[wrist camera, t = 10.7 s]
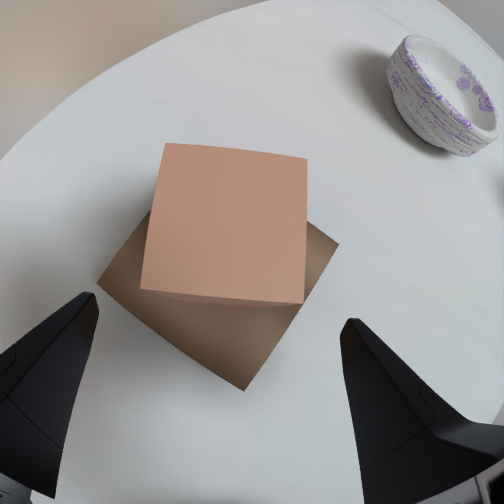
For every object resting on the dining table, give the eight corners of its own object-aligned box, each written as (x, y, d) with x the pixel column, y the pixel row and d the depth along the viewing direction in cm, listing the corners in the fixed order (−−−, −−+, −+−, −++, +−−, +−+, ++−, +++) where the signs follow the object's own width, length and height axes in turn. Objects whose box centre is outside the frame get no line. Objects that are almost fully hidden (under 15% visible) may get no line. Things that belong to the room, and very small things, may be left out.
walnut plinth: (239, 381, 20) (243, 391, 17) (110, 287, 20) (96, 283, 17) (324, 252, 23) (339, 244, 20) (202, 168, 23) (202, 150, 20)
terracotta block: (256, 308, 19) (303, 303, 9) (178, 300, 18) (139, 288, 8) (261, 232, 20) (307, 159, 10) (186, 225, 19) (165, 143, 9)
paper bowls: (475, 140, 30) (509, 114, 22) (441, 190, 27) (489, 161, 19) (405, 62, 31) (431, 28, 23) (350, 88, 28) (379, 40, 20)
